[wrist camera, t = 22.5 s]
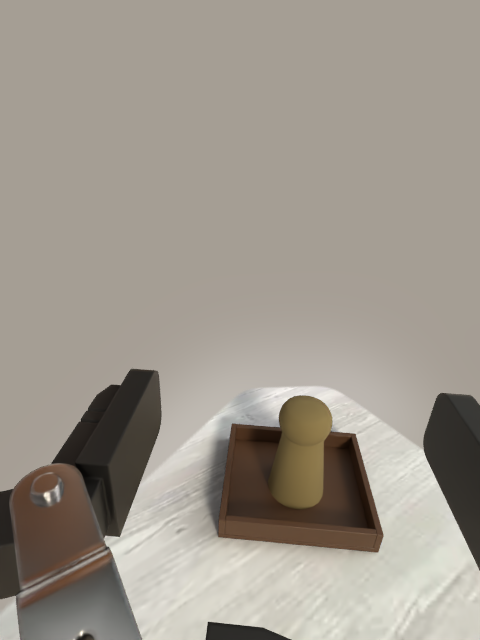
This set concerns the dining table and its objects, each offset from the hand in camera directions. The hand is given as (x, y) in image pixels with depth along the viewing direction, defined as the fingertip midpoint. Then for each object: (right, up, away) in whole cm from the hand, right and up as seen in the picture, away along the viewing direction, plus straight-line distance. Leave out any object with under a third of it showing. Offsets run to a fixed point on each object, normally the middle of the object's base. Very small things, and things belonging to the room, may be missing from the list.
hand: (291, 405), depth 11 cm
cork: (+5, -16, +31) cm, 35 cm away
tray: (+4, -16, +31) cm, 35 cm away
